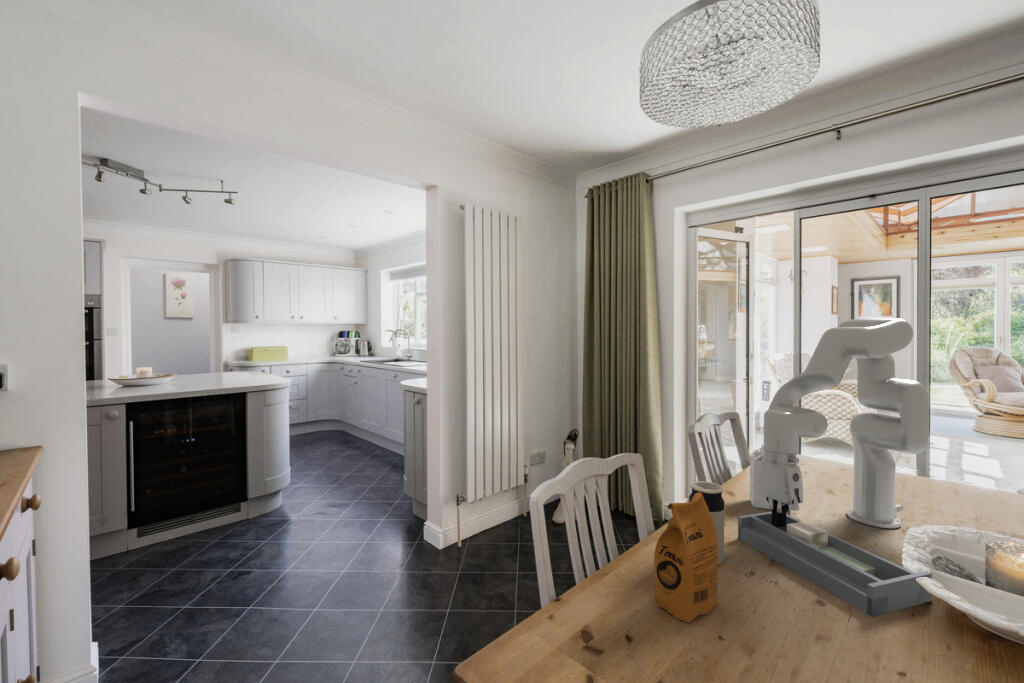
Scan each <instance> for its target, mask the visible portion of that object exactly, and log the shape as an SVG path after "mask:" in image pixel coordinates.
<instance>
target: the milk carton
mask: <svg viewBox="0 0 1024 683" xmlns="http://www.w3.org/2000/svg"><path fill="white" fill-rule="evenodd" d="M763 448H764V443H761V447H760V448H757V449H754V450H753V452H752V453H751V454H749V455H750V456H749V502H750V503H751V505H752V508H757V509H763V510H771V509H770V508H769V503H768V502H767V500H766V499H764V498H763V497H762V496H761V492H760V491H759V472H760V466H761V461H762V459H763Z"/></svg>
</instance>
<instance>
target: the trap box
mask: <svg viewBox="0 0 1024 683" xmlns="http://www.w3.org/2000/svg"><path fill="white" fill-rule="evenodd" d="M737 517H738V518H737V519H738V520H737V539H738V540H740V541H742V543H745V544H747V545H748V546H750V547H752V548H753V549H754V550H755V549H756V550H757V551H758V552H760V553H762V554H763V555H765V556H767V557H769V558H771V560H772V559H773V560H774V561H776V562H777V563H779V564H781V565H783V566H784V567H786V568H788V569H789V570H791V571H793V572H794V573H796V574H798V575H799V576H801V577H803V578H805V579H807V580H808V581H810V582H811V583H813V584H815V585H817V586H819V587H820V588H822V589H824V590H825V591H827V592H828V593H830V594H832V595H834V596H835V597H838V598H839V599H840V600H842V601H844V602H846V603H848V604H849V605H851V606H853V607H854V608H856V609H857V610H860V611H861V612H863V613H864V614H866V615H868V616H870V617H871V618H874V617H877V616H880V615H882V616H883V615H886V614H890V613H892V612H893V613H894V612H897V611H900V609H901V610H904V608H905V609H909V608H912V606H913V607H916V606H915V605H917V606H919V604H921V603H924V604H926V603H925V602H928V603H930V602H929V601H932V600H933V599H932V596H933V594H932V595H931V594H930V593H928V592H927V591H926V590H925V589H924V588H923V587H922V586H921V585H920V584H919V583H918V582H917V581H916V578H919V577H928V578H931V579H932V580H933V573H932V572H930V571H928V570H923V571H919V572H916V571H913V570H910V569H909V568H907V567H904V566H901V565H899V564H897V563H895V562H892V561H891V560H889V559H886V558H884V557H882V556H879V555H877V554H875V553H873V552H870V551H869V550H867V549H864V548H863V547H860V546H858V545H855V544H853V543H851V542H849V541H847V540H845V539H842V538H840V537H838V536H836V535H834V534H831V533H829V532H828V548H823V549H819V548H817V547H815V546H813V545H811V544H809V543H807V542H805V541H803V540H801V539H799V538H797V537H795V536H793V535H791V534H789V533H787V524H791V523H797V522H803V520H800V519H798V518H796V517H794V516H792V515H791V510H789V512H786V526H784V527H775V526H773V525H772V524H771V521H772V511H766V512H759V513H753V514H745V515H740V516H737ZM921 605H922V604H921ZM908 607H909V608H908ZM896 610H897V611H896Z"/></svg>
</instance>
